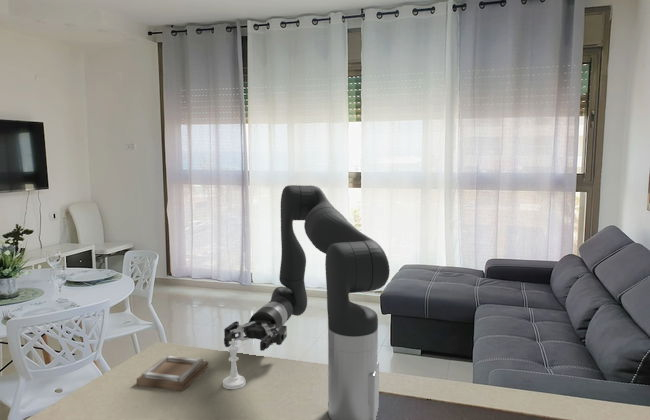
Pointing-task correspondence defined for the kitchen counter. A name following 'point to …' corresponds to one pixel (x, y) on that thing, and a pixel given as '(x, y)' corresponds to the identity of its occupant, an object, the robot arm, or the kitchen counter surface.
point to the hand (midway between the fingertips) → (243, 344)
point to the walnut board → (173, 373)
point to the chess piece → (233, 370)
